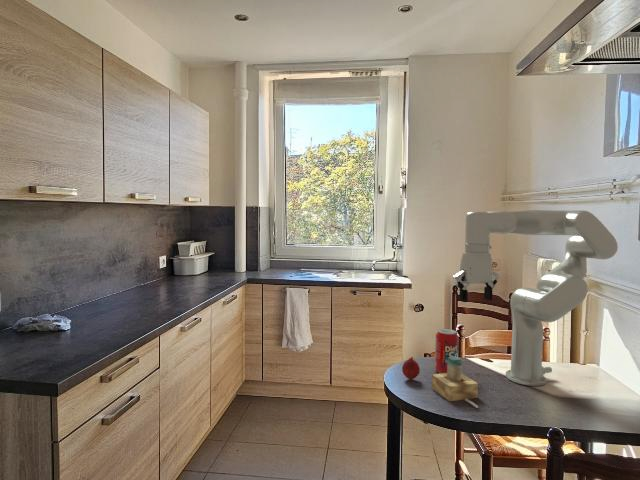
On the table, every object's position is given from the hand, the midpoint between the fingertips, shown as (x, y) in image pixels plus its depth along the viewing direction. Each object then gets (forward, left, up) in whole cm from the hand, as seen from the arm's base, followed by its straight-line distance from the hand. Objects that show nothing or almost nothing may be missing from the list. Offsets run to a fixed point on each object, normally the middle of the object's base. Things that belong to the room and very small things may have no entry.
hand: (476, 300), depth 138 cm
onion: (+19, -8, -28) cm, 35 cm away
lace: (+11, +13, -28) cm, 33 cm away
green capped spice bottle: (+11, +4, -28) cm, 30 cm away
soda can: (+3, -11, -28) cm, 31 cm away
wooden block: (+11, +5, -28) cm, 30 cm away
